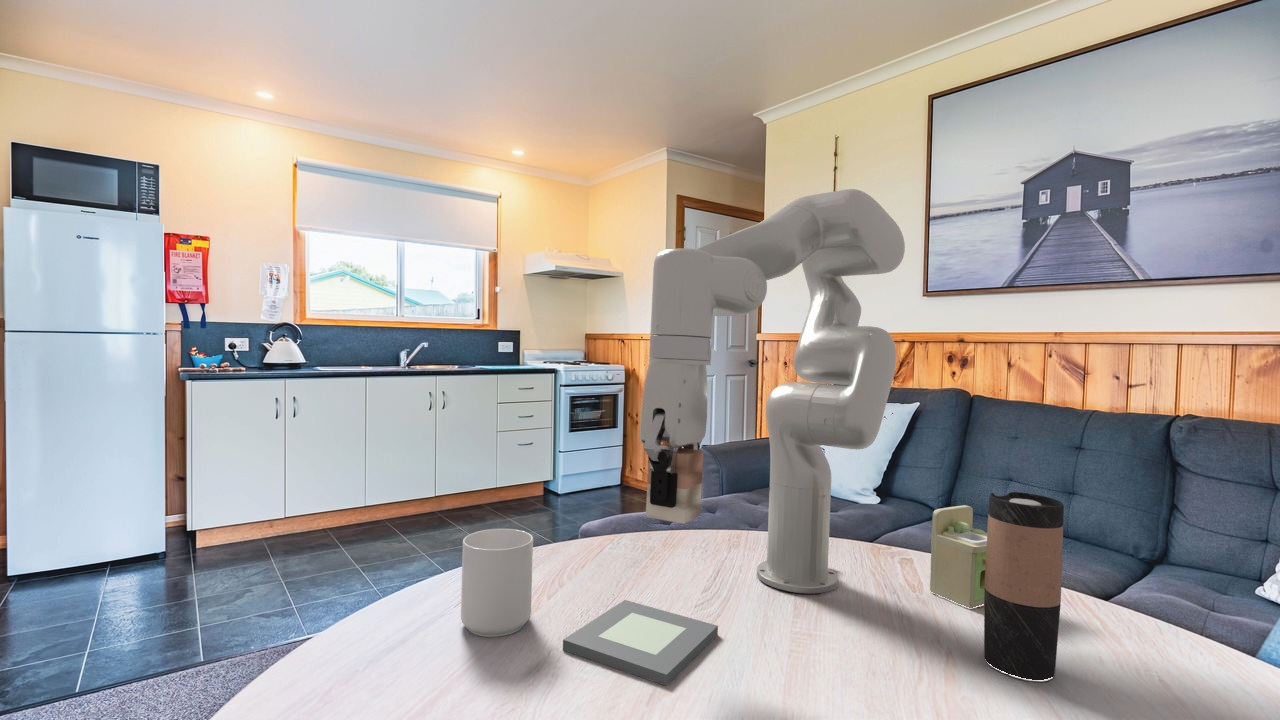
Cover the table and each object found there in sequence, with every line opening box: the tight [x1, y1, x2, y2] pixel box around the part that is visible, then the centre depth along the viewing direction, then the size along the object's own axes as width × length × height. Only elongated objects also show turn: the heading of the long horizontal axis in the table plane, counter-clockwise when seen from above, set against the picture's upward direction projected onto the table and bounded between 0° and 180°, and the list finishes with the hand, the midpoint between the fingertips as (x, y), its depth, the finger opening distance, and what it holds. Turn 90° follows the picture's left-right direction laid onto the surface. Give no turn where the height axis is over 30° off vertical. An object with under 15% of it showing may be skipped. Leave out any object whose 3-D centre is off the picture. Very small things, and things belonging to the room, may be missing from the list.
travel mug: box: [983, 491, 1065, 680], centre depth 72 cm, size 8×8×20 cm
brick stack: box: [645, 447, 704, 525], centre depth 74 cm, size 5×5×8 cm
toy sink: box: [929, 504, 987, 608], centre depth 92 cm, size 9×7×13 cm
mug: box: [460, 528, 534, 638], centre depth 80 cm, size 12×9×11 cm
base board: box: [562, 599, 719, 686], centre depth 75 cm, size 14×14×1 cm
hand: (673, 499), depth 74 cm, fingers closed on brick stack, 5 cm apart
